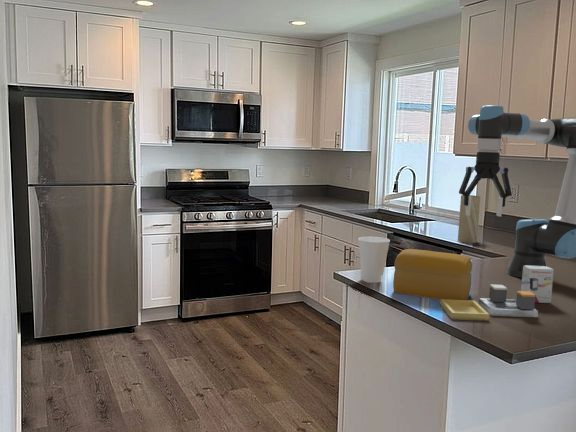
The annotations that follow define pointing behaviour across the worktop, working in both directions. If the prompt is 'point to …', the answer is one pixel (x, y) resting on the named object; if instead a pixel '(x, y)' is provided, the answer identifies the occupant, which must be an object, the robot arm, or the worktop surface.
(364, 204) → the worktop surface
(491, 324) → the worktop surface
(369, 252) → the cup
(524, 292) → the grey block
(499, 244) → the worktop surface
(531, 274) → the ink box
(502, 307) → the panel
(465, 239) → the tube
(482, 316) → the yellow tray
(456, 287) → the bread
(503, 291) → the toggle plain
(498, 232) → the worktop surface
